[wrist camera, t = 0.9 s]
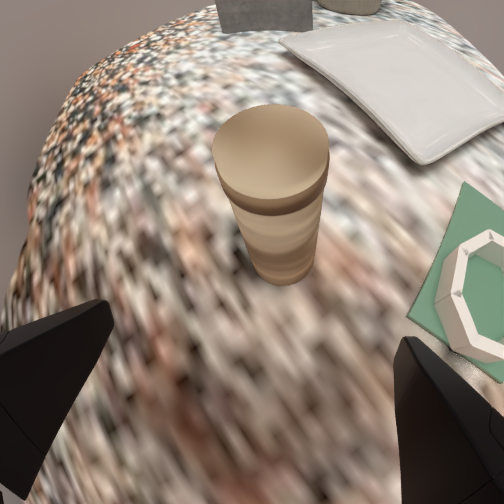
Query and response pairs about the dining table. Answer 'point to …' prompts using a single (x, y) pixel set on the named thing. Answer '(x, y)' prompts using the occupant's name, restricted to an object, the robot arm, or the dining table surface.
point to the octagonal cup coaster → (468, 285)
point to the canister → (352, 6)
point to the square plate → (404, 83)
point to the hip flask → (265, 15)
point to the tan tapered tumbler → (275, 185)
